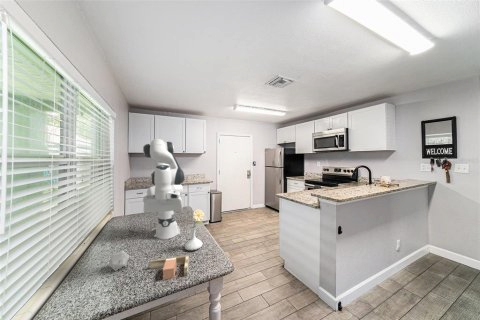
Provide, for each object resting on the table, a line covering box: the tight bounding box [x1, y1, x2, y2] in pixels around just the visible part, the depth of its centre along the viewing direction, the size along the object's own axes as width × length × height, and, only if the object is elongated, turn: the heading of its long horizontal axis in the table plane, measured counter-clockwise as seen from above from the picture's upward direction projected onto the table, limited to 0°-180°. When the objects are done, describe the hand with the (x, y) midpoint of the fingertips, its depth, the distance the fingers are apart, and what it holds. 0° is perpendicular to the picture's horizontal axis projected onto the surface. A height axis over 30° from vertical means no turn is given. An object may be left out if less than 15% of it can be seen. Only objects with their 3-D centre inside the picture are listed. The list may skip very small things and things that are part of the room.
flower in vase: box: [184, 209, 205, 251], centre depth 117 cm, size 13×11×25 cm
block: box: [162, 258, 177, 281], centre depth 92 cm, size 5×9×5 cm, turn 13°
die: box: [108, 250, 130, 272], centre depth 98 cm, size 8×9×10 cm
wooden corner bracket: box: [149, 254, 190, 277], centre depth 93 cm, size 12×20×4 cm, turn 103°
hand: (164, 218), depth 100 cm, fingers open, 8 cm apart
